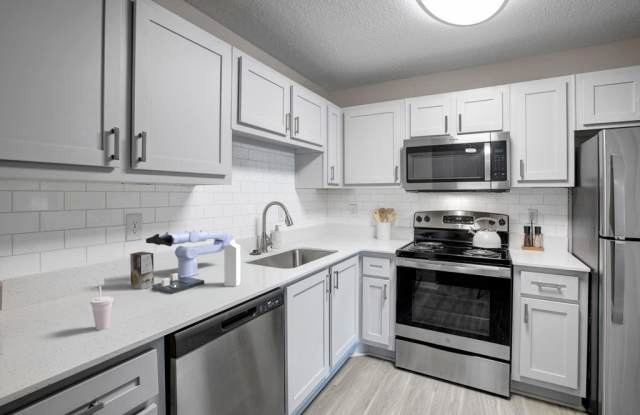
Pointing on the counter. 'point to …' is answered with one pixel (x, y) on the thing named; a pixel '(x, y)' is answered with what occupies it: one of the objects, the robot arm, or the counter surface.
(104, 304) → the smoothie
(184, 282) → the console
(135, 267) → the coffee box
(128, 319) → the counter surface
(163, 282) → the block
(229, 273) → the milk
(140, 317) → the counter surface
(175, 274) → the block
